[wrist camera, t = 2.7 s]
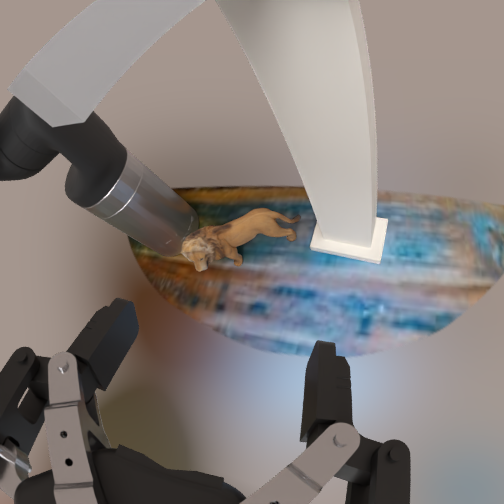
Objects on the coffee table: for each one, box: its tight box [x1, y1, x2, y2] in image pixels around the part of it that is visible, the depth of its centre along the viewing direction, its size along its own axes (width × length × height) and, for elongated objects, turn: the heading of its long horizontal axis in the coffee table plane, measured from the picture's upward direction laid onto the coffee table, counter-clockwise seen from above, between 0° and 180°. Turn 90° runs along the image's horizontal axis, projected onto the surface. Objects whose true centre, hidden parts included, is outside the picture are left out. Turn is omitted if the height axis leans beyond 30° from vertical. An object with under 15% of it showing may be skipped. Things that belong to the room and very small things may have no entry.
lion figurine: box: [180, 208, 301, 271], centre depth 36 cm, size 15×5×9 cm, turn 117°
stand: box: [215, 0, 388, 264], centre depth 21 cm, size 9×6×32 cm, turn 71°
